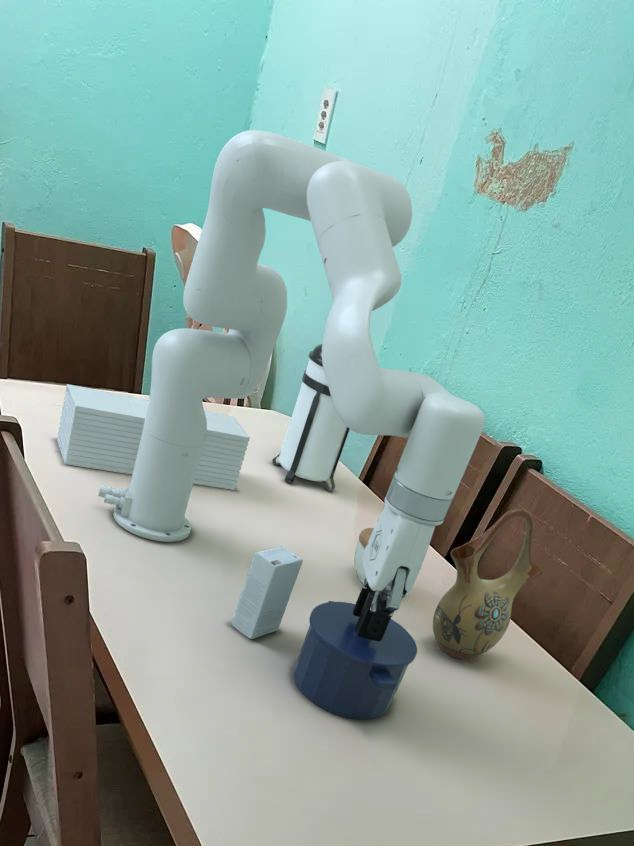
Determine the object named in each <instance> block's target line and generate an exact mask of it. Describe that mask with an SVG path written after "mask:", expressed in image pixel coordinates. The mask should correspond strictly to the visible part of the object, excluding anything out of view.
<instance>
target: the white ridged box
mask: <svg viewBox="0 0 634 846" xmlns="http://www.w3.org/2000/svg"><path fill="white" fill-rule="evenodd" d="M65 389H66V390H65V393H64V398H63V405H62V410H61V414H60V422H59V427H58V431H57V437H56V442H57V445H58V448H59V451H60V454H61V457H62V460H63V463H64V465H67V466H75V467H81V468H88V469H92V470H93V469H94V470H101V471H108V472H114V473H121V474H127V475H131V476H132V475H133V470H134V466H135V462H136V457H137V453H138V449H139V444H140V440H141V436H142V431H143V427H144V422H145V417H146V413H147V408H148V403H149V399H146V398H141V397H136V396H130V395H125V394H121V393H116V392H112V391H111V392H110V391H105V390H101V389H100V390H99V389H96V388H90V387H84V386H79V385H73V384H69V383H66V387H65ZM204 412H205V415H206V420H207V432H206V437H205V441H204V445H203V449H202V452H201V456H200V460H199V464H198V467H197V471H196V475H195V478H194V482H193V485H199V486H205V487H211V488H217V489H218V488H219V489H226V490H232V491H235V490H236V488H237V487H236V486H237V484H238V480H239V476H240V473H241V470H242V466H243V464H244V463H243V462H244V460H245V457H246V453H247V449H248V446H249V442H250V439H251V436H249V434H248V433H247V432H246V430H245V429H244V428H243V427H242V425H241V424H240V423H239V422H238V420H237V419H236V417H235V416H234V415H228V414H225V413H224V414H223V413H218V412H213V411H208V410H204Z"/></svg>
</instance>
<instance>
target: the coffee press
mask: <svg viewBox="0 0 634 846" xmlns="http://www.w3.org/2000/svg"><path fill="white" fill-rule="evenodd" d="M301 380H302V382H301V386H300V389H299V392H298V395H297V398H296V401H295V404H294V408H293V411H292V414H291V416H290V417H291V418H290V420H289V424H288V427H287V430H286V433H285V437H284V440H283V443H282V446H281V449H280V452H279V454H278V455H277V456H275V457H273V458H272V464H273V465H274V466H279V465H280V466H281V467H282V468H283V469H284V470H286V471H287V472H288V473H287V474H286V476H285V477H284V482H286V483H288V484H289V485H292V484H293V483H294V482H295V480H296V479H297V478H301V479H304V480H308V481H312V482H321V483H322V484H323V485H324V487H325V489H326V491H328V492H331V491H334V490H335V489H336V484H335V480H334V479H335V478H334V476H335V473H336V470H337V466H338V464H339V461H340V458H341V455H342V452H343V449H344V447H345V445H346V441H347V438H348V435H349V432H350V430H351V429H349V428H348V427H347V426H346V425H345V424H344V423H343V421H342V420H341V418H340V417H339V415H338V413H337V411H336V408H335V406H334V403H333V401H332V397H331V394H330V390H329V387H328V383H327V380H326V376H325V373H324V369H323V363H322V343H320V344H318V345H316V346H315V347H314V348H313V349H312V350H311V351H309V353H308V363H307V366H306V369H305V370H304V372H303V374H302V378H301ZM277 459H278V461H279V463H278V462H277ZM328 480H330V484H331V488H330V486H329V483H328V482H327V481H328Z"/></svg>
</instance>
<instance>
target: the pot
mask: <svg viewBox="0 0 634 846" xmlns="http://www.w3.org/2000/svg"><path fill="white" fill-rule="evenodd" d="M328 602H335V601H333V600H328ZM408 668H409V665H407V666H404V667H400V668H391V669H390V668H378V667H373V666H369V665H365V664H362V663H359V662H356V661H353V660H351V659H349V658H346V657H344V656H342V655H341V654H339V653H337V652H335V651H334V650H332V649H331V648H329V647H328V646H327V645H325V644H324V643H323V642H322V641H321V640H320V639H319V638H318V637H317V636H316V635H315V633H314V632H313V630H312V628H311V626H310V625H309V627H308V629H307V632H306V634H305V637H304V641H303V643H302V645H301V648H300V651H299V654H298V656H297V659H296V661H295V665H294V669H293V675H292V677H293V681H294V683H295V685H296V687H297V689H298V691H300V693H301V694H302V695H303V696H304V697H305V698H306V699H307V700H309V701H310V702H311V703H313V704H314V705H315V706H317V707H319V708H321V709H323V710H325V711H326V712H329V713H332V714H334V715H336V716H339V717H342V718H346V719H347V718H348V719H352V720H372V719H377V718H379V717H381V716H383V715H384V714H385V713H386V712H387V711H388V709H389V708H390V706H392V702H393V701H394V698H395V697H396V694H397V691H398V690H399V688H400V686H401V682H402V680H403V678H404V676H405V674H406V671H407V670H408Z"/></svg>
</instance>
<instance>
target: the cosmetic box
mask: <svg viewBox="0 0 634 846" xmlns="http://www.w3.org/2000/svg"><path fill="white" fill-rule="evenodd" d="M253 554H254V555H253V557H252V561H251V564H250V567H249V570H248V572H247V576H246V579H245V581H244V585H243V588H242V591H241V592H240V593H241V594H240V597H239V600H238V603H237V605H236V609H235V611H234V615H233V618H232V621H231V626H232V627H233V628H235V630H237V631H238V632H240V634H242V635H244V636H245V637H247V638H248V639H250V640H254V639H257V638H260V637H262V636H265V635H267V634H271V633H274V632H277V631H278V630H279V628H280V625H281V623H282V620H283V618H284V615H285V612H286V609H287V606H288V603H289V601H290V598H291V595H292V592H293V589H294V588H295V584H296V582H297V578H298V576H299V573H300V570H301V567H302V565H303V562H304V559H303V558H302V557H300V556H298V555H297V554H296V553H294V552H292V551H291V550H289V549H288V548H286V547H284V546H282V545H281V546H277V547H273V548H269V549H264V550H260V551H255V552H254V553H253Z"/></svg>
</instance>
